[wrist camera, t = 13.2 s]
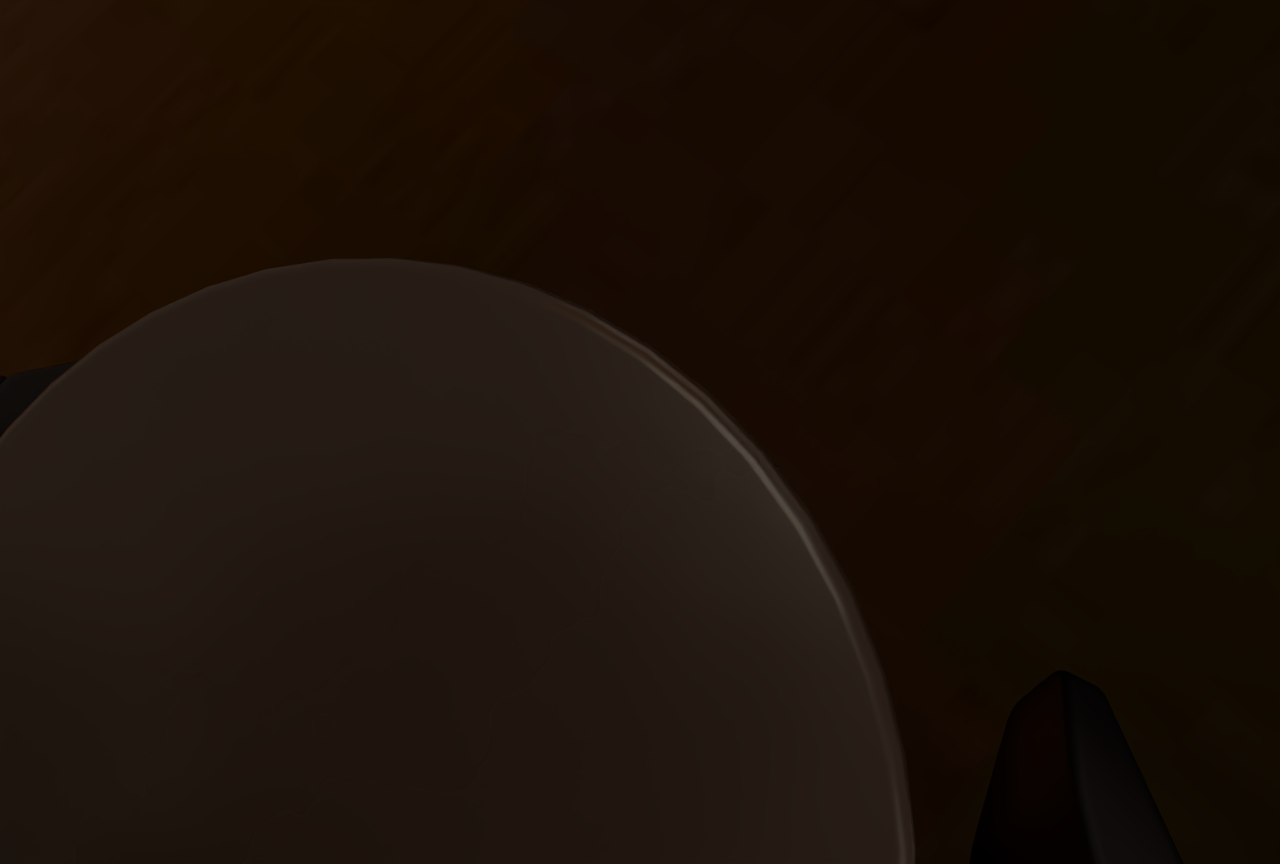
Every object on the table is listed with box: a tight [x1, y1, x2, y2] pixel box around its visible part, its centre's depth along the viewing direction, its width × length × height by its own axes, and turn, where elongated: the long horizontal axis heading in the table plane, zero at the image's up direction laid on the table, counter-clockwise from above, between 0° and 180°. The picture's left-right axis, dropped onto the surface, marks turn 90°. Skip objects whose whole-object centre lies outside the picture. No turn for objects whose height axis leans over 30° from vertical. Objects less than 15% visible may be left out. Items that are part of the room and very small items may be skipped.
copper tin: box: [0, 258, 916, 864], centre depth 9 cm, size 5×5×12 cm
